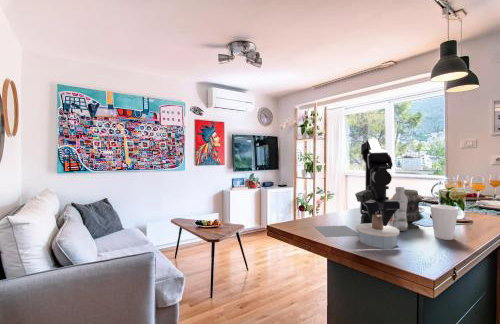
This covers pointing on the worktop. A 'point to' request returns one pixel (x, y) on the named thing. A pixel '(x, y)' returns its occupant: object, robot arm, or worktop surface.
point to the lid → (378, 228)
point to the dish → (378, 241)
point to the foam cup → (444, 221)
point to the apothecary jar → (413, 208)
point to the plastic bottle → (400, 210)
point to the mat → (336, 231)
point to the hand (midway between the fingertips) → (377, 222)
